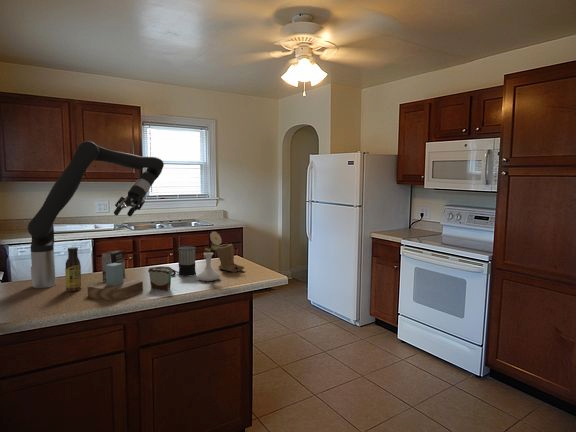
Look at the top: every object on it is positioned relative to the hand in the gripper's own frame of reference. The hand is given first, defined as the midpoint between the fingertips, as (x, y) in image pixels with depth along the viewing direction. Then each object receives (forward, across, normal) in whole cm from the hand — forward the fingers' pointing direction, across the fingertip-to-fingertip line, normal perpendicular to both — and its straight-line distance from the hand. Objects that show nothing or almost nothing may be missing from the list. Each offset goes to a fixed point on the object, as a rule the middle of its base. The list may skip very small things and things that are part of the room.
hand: (121, 214), depth 177 cm
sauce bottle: (+34, -17, +15) cm, 41 cm away
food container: (+21, +19, +28) cm, 40 cm away
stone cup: (-10, +28, +59) cm, 66 cm away
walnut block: (+32, +5, +18) cm, 37 cm away
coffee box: (+24, -8, +26) cm, 36 cm away
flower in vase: (+5, +30, +44) cm, 54 cm away
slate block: (+28, +5, +14) cm, 32 cm away
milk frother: (+5, +10, +45) cm, 46 cm away
